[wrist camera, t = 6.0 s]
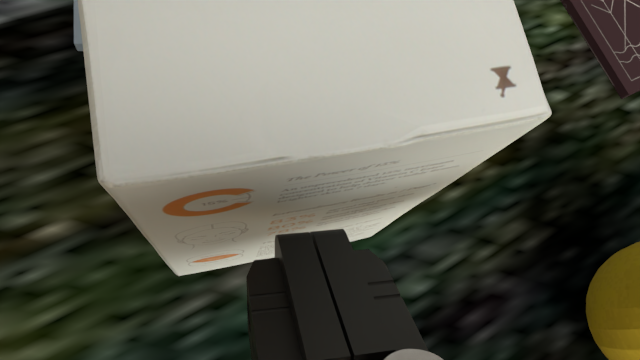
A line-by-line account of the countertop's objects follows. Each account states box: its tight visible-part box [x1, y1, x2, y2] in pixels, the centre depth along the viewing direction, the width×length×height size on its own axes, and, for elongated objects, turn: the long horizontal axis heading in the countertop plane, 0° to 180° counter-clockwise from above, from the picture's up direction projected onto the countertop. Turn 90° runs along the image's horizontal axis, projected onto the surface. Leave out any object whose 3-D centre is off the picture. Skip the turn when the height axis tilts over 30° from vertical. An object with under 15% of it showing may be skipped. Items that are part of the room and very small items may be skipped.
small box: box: [78, 0, 552, 276], centre depth 16 cm, size 8×6×13 cm
